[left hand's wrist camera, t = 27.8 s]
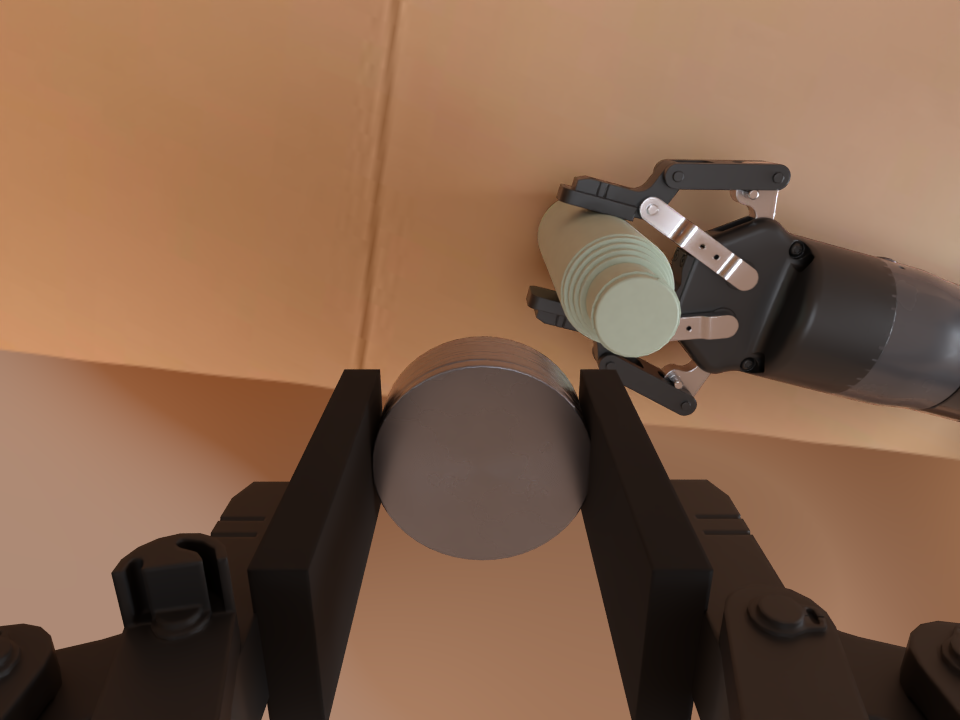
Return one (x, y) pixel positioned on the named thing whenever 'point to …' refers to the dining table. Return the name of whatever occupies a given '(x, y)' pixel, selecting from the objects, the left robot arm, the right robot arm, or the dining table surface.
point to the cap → (482, 449)
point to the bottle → (609, 280)
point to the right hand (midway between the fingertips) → (545, 246)
